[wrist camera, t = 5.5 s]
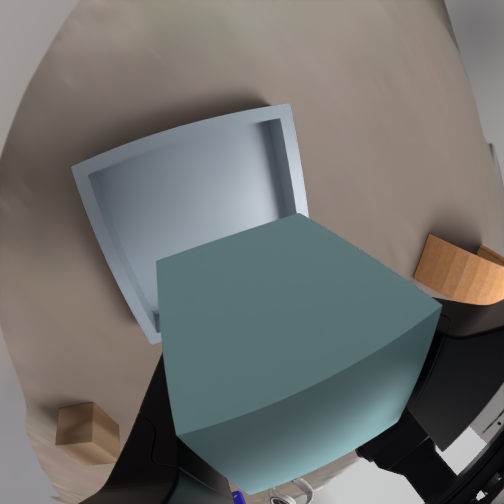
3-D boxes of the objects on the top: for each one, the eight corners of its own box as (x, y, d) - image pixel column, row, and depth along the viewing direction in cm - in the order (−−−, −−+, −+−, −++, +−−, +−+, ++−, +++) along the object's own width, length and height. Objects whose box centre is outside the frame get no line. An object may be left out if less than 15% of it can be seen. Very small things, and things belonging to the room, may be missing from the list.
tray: (272, 106, 16) (289, 103, 14) (300, 268, 22) (316, 283, 20) (82, 162, 14) (70, 166, 12) (150, 323, 20) (151, 344, 18)
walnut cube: (93, 401, 21) (92, 441, 17) (118, 425, 23) (121, 461, 19) (59, 407, 20) (55, 445, 16) (85, 430, 22) (85, 465, 18)
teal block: (299, 212, 9) (442, 305, 4) (312, 320, 12) (397, 421, 6) (155, 260, 8) (176, 435, 3) (203, 363, 11) (249, 495, 6)
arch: (428, 231, 27) (497, 268, 18) (481, 244, 34) (525, 269, 26) (412, 277, 29) (473, 320, 20) (470, 275, 36) (511, 302, 28)
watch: (262, 463, 37) (285, 512, 28) (300, 455, 41) (325, 498, 31) (252, 474, 39) (273, 519, 30) (288, 466, 42) (310, 507, 33)
